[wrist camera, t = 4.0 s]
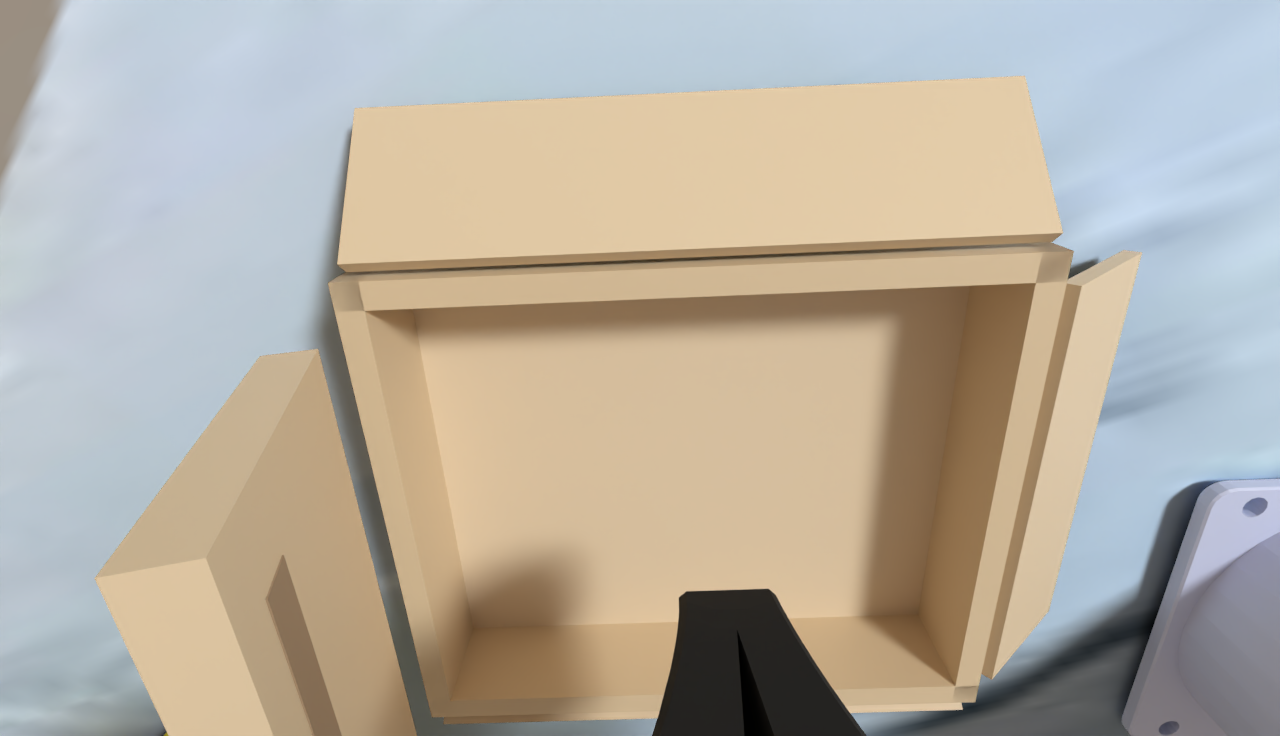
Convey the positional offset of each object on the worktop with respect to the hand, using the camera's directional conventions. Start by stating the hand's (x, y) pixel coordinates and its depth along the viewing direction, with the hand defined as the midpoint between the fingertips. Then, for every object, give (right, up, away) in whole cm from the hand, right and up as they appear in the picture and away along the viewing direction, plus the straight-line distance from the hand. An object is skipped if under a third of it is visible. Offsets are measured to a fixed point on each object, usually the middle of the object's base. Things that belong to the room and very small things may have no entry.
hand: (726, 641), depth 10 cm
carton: (+1, +2, +5) cm, 6 cm away
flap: (-5, 0, 0) cm, 5 cm away
